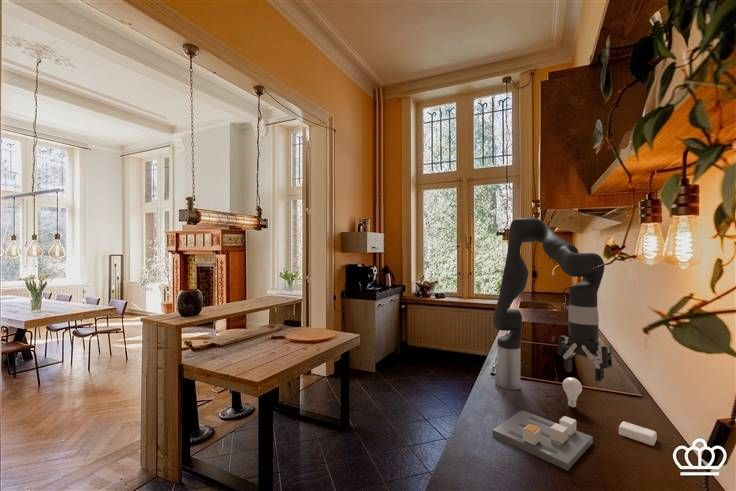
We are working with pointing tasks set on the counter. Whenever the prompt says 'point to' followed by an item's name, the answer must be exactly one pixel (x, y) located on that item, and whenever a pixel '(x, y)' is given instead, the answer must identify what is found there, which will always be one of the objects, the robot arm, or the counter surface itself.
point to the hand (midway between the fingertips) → (583, 376)
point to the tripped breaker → (532, 434)
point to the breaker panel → (546, 438)
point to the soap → (638, 433)
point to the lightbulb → (572, 390)
